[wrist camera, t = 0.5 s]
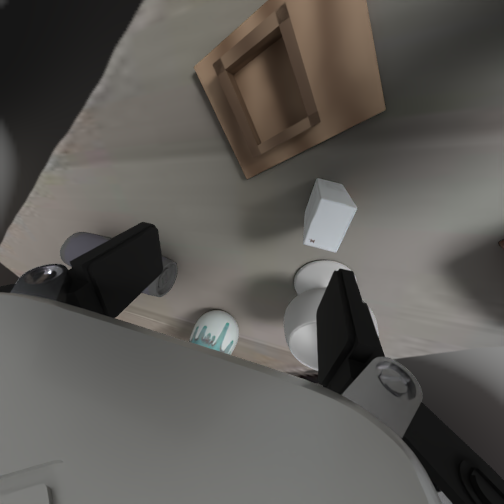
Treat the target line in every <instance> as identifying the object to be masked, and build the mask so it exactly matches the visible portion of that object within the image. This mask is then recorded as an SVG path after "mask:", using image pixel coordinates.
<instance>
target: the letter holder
mask: <svg viewBox="0 0 504 504" xmlns="http://www.w3.org/2000/svg"><path fill="white" fill-rule="evenodd" d="M499 245H500V246H501V247H502V248H503V250H504V240H502V241H500V242H499Z"/></svg>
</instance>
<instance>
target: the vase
mask: <svg viewBox="0 0 504 504" xmlns="http://www.w3.org/2000/svg"><path fill="white" fill-rule="evenodd" d="M238 337H239V328H238V325H237V322H236V320H235V319H234V318H233V317H232V316H231V315H230V314H228V313H227V312H224V311H221V310H212V311H209V312H207V313H205V314H203V315H202V316H201V317H200V318H199V319H198V321H197V322H196V324H195V326H194V328H193V331H192V333H191V336H190V339H189V342H191V343H195V344H198V345H201V346H204V347H207V348H210V349H213V350H217V351H220V352H223V353H226V354H229V355H231V353H232V352H233V350H234V348H235V346H236V344H237V341H238Z"/></svg>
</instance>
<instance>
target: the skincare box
mask: <svg viewBox="0 0 504 504" xmlns="http://www.w3.org/2000/svg"><path fill="white" fill-rule="evenodd" d="M357 209H358V208H357V206H356V205H355V203H354V202H353V200H352V199H351V197H350V195H349V194H348V192H347V191H346V189H345V188H344V186H343V185H342V184H340V183H335V182H332V181H328V180H324V179H320V178H317V179H316V181H315V184H314V187H313V190H312V193H311V196H310V198H309V201H308V204H307V207H306V210H305V217H304V235H303V244H304V245H308V246H312V247H316V248H320V249H323V250H327V251H331V252H335V253H336V252H337V250H338V248H339V246H340V244H341V242H342V240H343V238H344V236H345V234H346V231H347V229H348V227H349V225H350V223H351V221H352V219H353V217H354V215H355V213H356V211H357Z"/></svg>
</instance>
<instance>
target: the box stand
mask: <svg viewBox="0 0 504 504" xmlns="http://www.w3.org/2000/svg"><path fill="white" fill-rule="evenodd" d="M194 69H195V71H196V73H197V75H198V77H199V79H200V81H201V84H202V86H203V88H204V90H205V92H206V94H207V96H208V98H209V100H210V103H211V105H212V107H213V109H214V111H215V113H216V115H217V117H218V120H219V122H220V124H221V126H222V128H223V130H224V132H225V134H226V136H227V139H228V141H229V143H230V145H231V147H232V149H233V151H234V153H235V155H236V158H237V160H238V162H239V164H240V166H241V168H242V170H243V172H244V175H245V177H246V179H249V178H251V177H253V176H255V175H257V174H259V173H261V172H263V171H265V170H267V169H269V168H271V167H273V166H275V165H277V164H279V163H281V162H283V161H285V160H287V159H289V158H291V157H293V156H295V155H297V154H299V153H301V152H303V151H305V150H307V149H309V148H311V147H313V146H315V145H317V144H319V143H321V142H323V141H325V140H327V139H329V138H331V137H333V136H335V135H337V134H339V133H341V132H343V131H345V130H347V129H349V128H351V127H353V126H355V125H357V124H359V123H361V122H363V121H365V120H367V119H369V118H371V117H373V116H375V115H377V114H379V113H381V112H383V111H385V110H386V107H385V102H384V96H383V91H382V85H381V80H380V74H379V69H378V63H377V57H376V52H375V46H374V41H373V35H372V30H371V24H370V19H369V13H368V8H367V2H366V0H268V1H267V2H266V3H265V4H263V5H262V6H261V7H260V8H259V9H258V10H257V11H256V12H254V13H253V14H252V15H251V16H250V17H249V18H248V19H247V20H246V21H244V22H243V23H242V24H241V25H240V26H239V27H238V28H237V29H236V30H234V31H233V32H232V33H231V34H230V35H229V36H228V37H227V38H225V39H224V40H223V41H222V42H221V43H220V44H219V45H218V46H217V47H215V48H214V49H213V50H212V51H211V52H210V53H209V54H208V55H207V56H205V57H204V58H203V59H202V60H201V61H200V62H199V63H198V64H196V65H195V66H194Z"/></svg>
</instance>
